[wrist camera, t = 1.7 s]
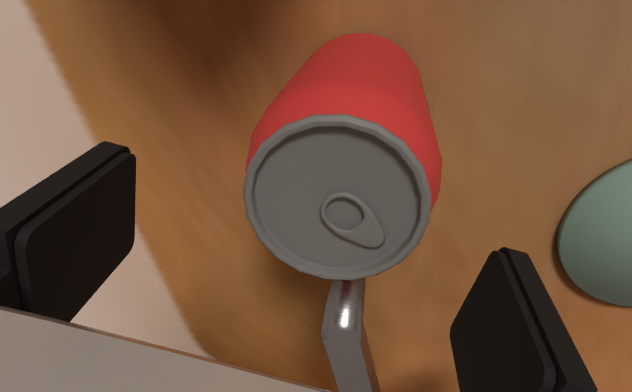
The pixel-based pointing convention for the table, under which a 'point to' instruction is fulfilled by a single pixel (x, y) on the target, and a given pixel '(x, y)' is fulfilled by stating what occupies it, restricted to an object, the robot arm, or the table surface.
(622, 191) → the coaster
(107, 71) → the table surface
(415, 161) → the beer can
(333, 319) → the zigzag metal bar linkage
